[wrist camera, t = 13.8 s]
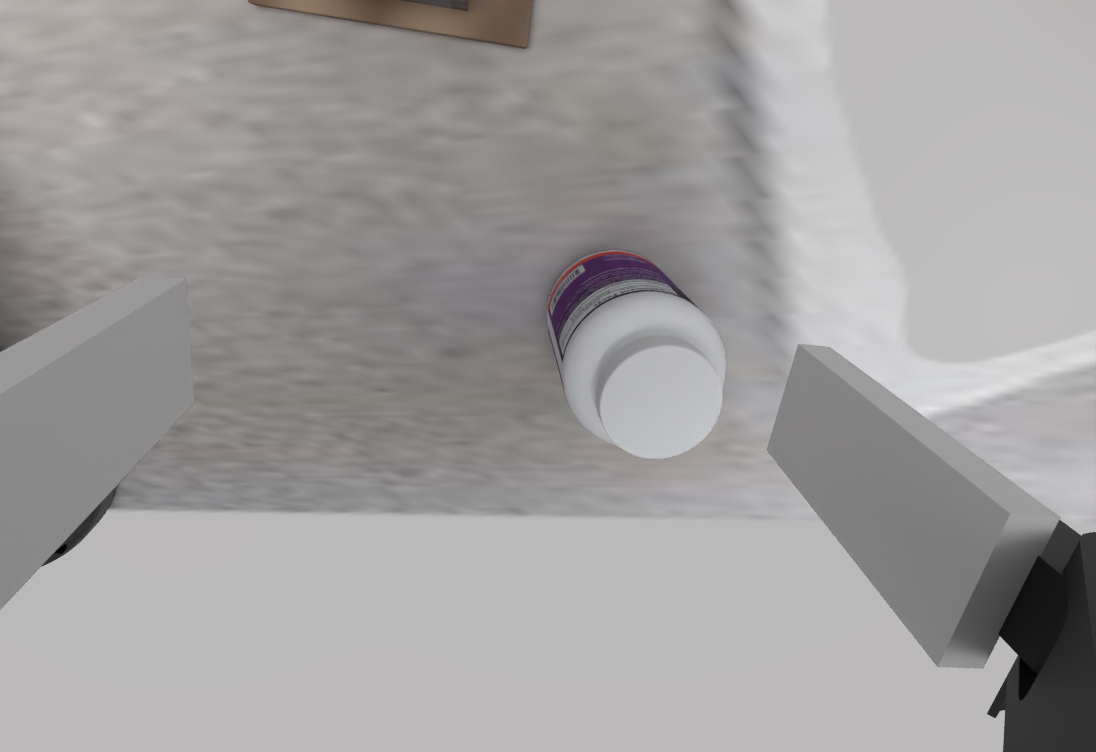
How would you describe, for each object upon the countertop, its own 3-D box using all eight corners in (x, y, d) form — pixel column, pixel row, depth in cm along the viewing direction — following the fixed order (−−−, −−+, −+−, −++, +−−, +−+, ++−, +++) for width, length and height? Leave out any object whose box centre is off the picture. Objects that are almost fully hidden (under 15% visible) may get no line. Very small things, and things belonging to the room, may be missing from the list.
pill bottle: (666, 363, 44) (744, 479, 31) (546, 370, 44) (572, 491, 30) (672, 242, 41) (762, 313, 28) (542, 247, 40) (570, 323, 27)
